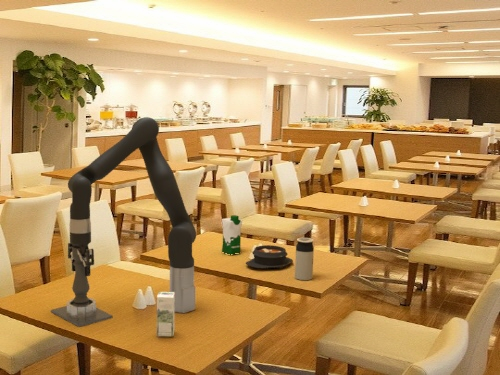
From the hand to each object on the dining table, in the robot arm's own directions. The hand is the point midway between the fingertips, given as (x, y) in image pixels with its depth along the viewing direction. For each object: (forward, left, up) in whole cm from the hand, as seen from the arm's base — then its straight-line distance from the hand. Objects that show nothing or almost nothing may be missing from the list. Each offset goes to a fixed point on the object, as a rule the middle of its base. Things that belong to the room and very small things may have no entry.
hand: (81, 273), depth 233 cm
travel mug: (-24, -99, -16) cm, 103 cm away
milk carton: (+28, -103, -16) cm, 108 cm away
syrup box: (-35, -12, -16) cm, 40 cm away
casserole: (0, -102, -16) cm, 103 cm away
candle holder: (+1, 0, -15) cm, 15 cm away
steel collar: (0, 0, -16) cm, 16 cm away
